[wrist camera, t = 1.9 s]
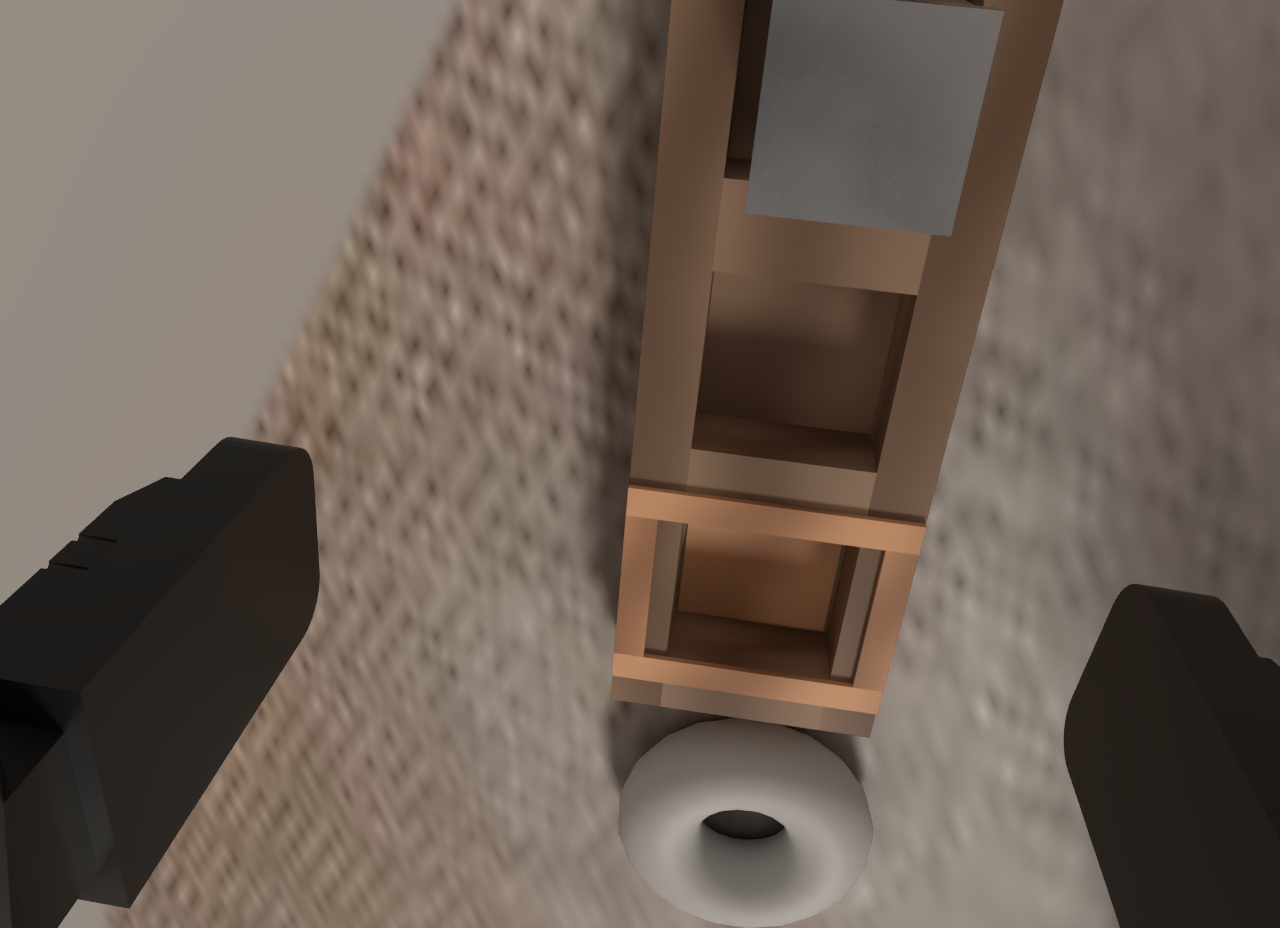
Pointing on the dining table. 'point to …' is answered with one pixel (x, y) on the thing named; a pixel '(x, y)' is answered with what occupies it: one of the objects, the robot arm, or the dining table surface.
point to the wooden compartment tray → (793, 396)
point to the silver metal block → (870, 111)
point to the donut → (752, 781)
